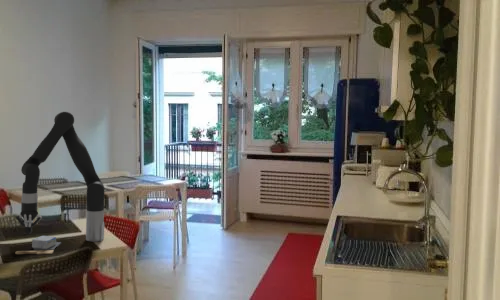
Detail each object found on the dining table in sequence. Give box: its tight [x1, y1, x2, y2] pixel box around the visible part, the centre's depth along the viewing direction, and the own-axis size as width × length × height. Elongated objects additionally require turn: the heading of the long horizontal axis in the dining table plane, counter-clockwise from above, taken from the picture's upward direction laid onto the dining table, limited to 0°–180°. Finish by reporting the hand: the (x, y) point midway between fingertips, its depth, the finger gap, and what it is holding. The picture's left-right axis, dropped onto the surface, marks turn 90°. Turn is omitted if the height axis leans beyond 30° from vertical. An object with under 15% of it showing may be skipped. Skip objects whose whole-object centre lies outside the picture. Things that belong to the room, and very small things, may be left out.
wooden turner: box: [14, 249, 55, 255], centre depth 214 cm, size 17×4×1 cm, turn 106°
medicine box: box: [31, 235, 57, 249], centre depth 223 cm, size 8×4×9 cm
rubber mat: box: [33, 241, 62, 251], centre depth 225 cm, size 10×12×1 cm
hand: (28, 233), depth 223 cm, fingers closed
